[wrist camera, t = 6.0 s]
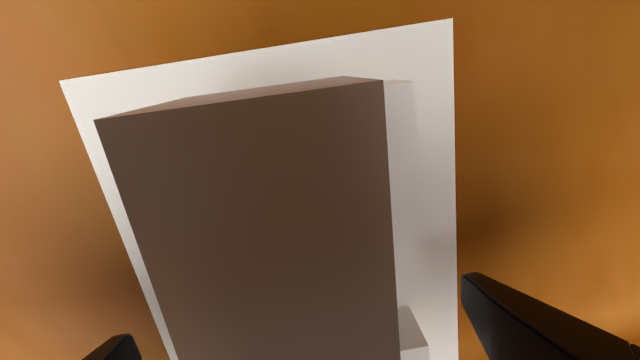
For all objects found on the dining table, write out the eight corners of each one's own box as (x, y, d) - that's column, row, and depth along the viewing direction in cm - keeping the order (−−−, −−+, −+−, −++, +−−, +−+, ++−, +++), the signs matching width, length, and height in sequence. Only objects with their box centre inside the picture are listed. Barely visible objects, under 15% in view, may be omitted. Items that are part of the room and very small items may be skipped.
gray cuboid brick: (186, 97, 8) (92, 120, 4) (343, 75, 8) (383, 79, 5) (270, 426, 12) (259, 588, 8) (376, 408, 12) (413, 560, 8)
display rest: (439, 22, 11) (490, 5, 8) (448, 344, 15) (483, 405, 13) (79, 79, 11) (1, 83, 8) (197, 389, 15) (174, 463, 12)
